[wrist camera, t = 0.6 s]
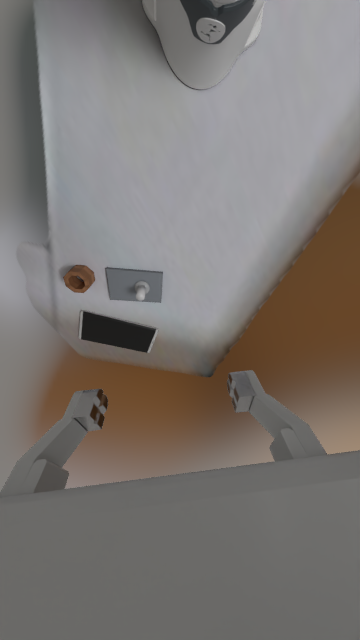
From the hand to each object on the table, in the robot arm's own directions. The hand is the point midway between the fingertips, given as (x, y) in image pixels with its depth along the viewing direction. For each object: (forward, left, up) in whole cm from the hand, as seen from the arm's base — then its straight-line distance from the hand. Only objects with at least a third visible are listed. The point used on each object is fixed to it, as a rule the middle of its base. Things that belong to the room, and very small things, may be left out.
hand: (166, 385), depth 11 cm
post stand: (+14, -8, -43) cm, 46 cm away
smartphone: (+34, -15, -44) cm, 58 cm away
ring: (+12, -23, -43) cm, 51 cm away
